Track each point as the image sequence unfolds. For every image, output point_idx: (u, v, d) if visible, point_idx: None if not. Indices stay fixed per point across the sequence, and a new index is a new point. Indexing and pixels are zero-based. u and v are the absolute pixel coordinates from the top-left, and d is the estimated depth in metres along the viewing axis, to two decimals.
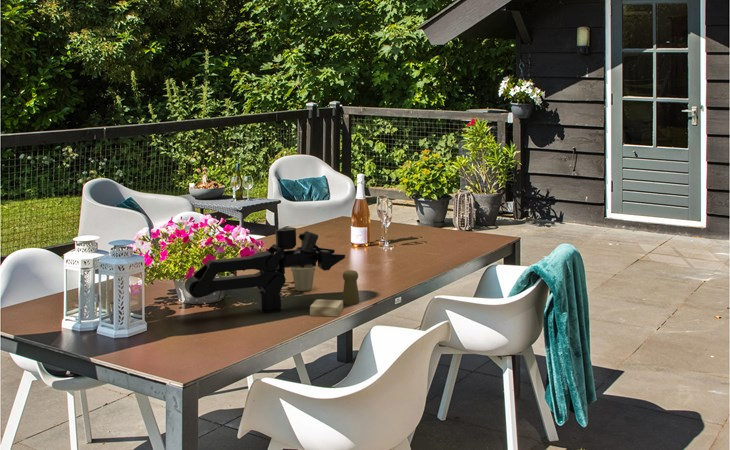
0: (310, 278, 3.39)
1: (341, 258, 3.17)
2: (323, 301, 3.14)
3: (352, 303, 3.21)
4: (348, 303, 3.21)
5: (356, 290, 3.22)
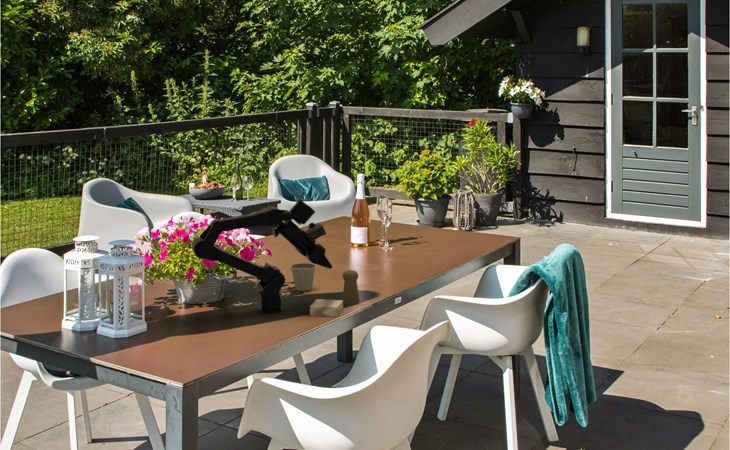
0: (310, 278, 3.39)
1: (327, 266, 3.14)
2: (323, 301, 3.14)
3: (352, 303, 3.21)
4: (348, 303, 3.21)
5: (356, 290, 3.22)
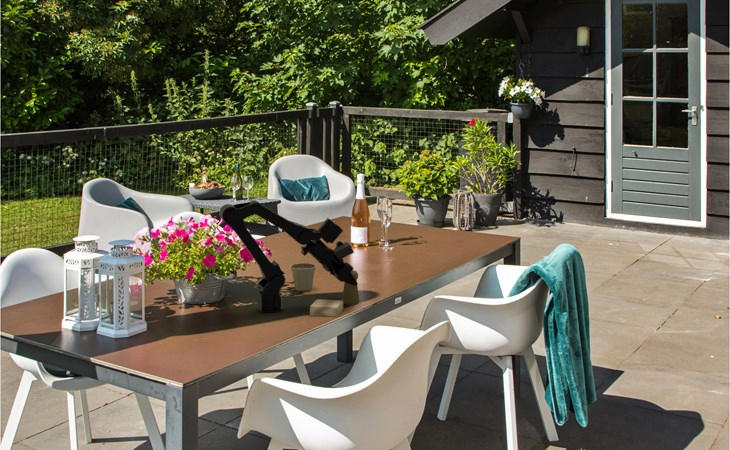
0: (310, 278, 3.39)
1: (353, 283, 3.19)
2: (323, 301, 3.14)
3: (352, 303, 3.21)
4: (348, 303, 3.21)
5: (356, 290, 3.22)
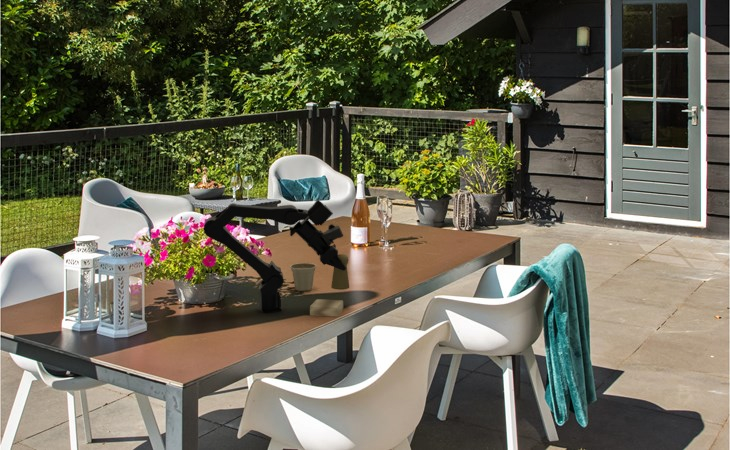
0: (310, 278, 3.39)
1: (341, 267, 3.12)
2: (323, 301, 3.14)
3: (340, 288, 3.14)
4: (336, 288, 3.14)
5: (345, 275, 3.14)
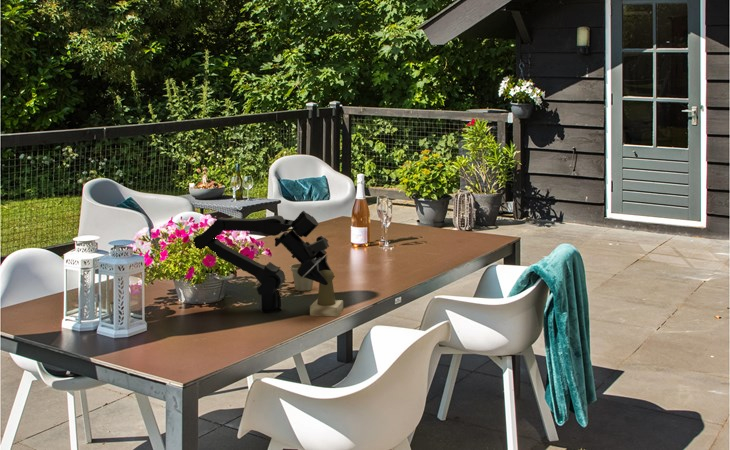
0: None
1: (322, 282, 3.05)
2: None
3: (323, 304, 3.08)
4: (319, 303, 3.09)
5: (329, 291, 3.08)
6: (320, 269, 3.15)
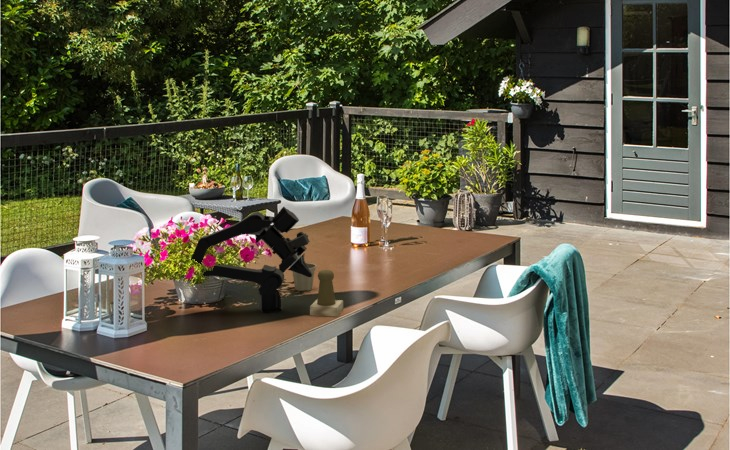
0: (310, 278, 3.39)
1: (306, 274, 3.11)
2: None
3: (323, 304, 3.08)
4: (319, 303, 3.09)
5: (329, 291, 3.08)
6: None
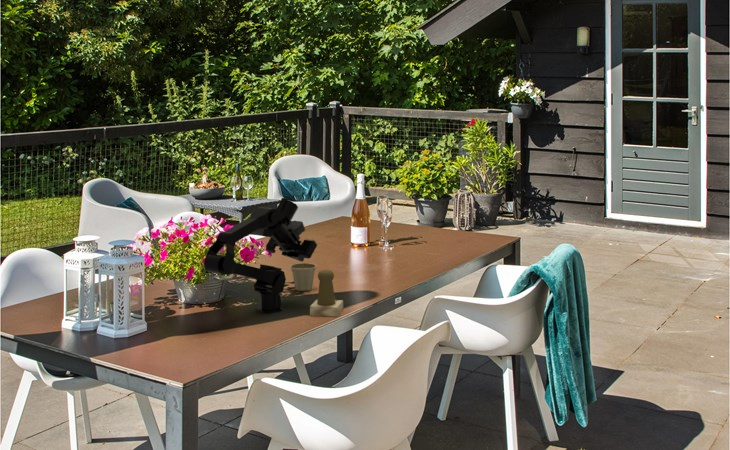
0: (310, 278, 3.39)
1: (301, 259, 3.25)
2: None
3: (323, 304, 3.08)
4: (319, 303, 3.09)
5: (329, 291, 3.08)
6: None
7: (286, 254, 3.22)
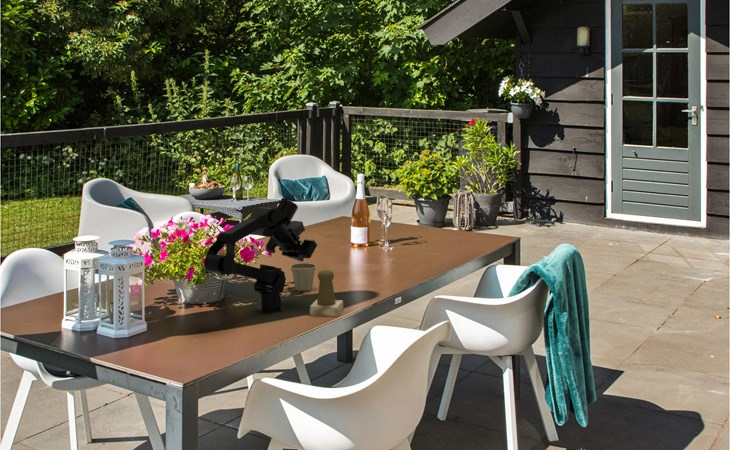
0: (310, 278, 3.39)
1: (301, 259, 3.25)
2: None
3: (323, 304, 3.08)
4: (319, 303, 3.09)
5: (329, 291, 3.08)
6: None
7: (286, 254, 3.22)
